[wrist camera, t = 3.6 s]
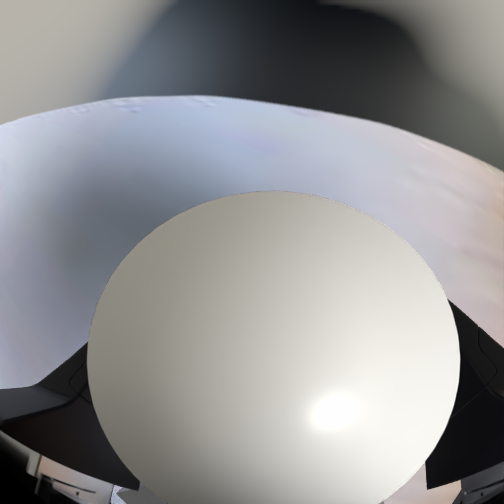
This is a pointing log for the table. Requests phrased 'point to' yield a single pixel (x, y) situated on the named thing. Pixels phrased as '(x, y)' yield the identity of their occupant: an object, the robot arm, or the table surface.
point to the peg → (273, 355)
